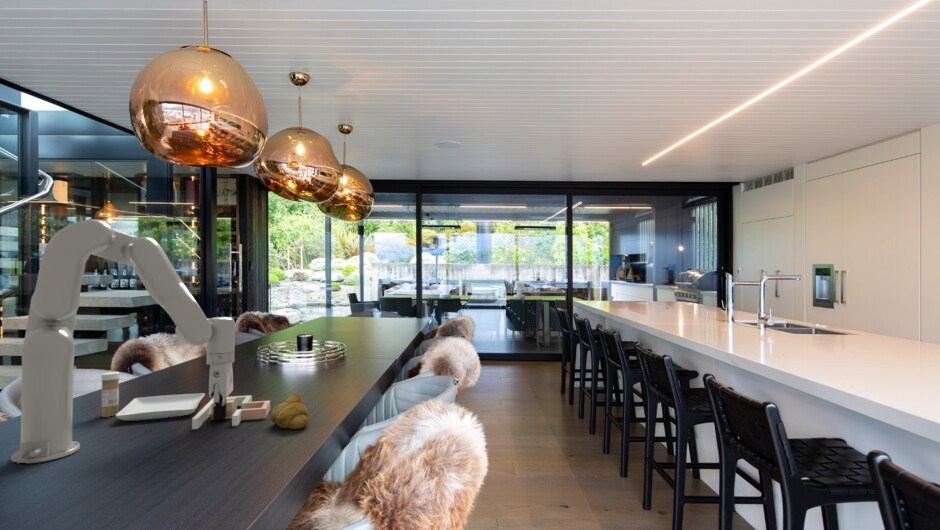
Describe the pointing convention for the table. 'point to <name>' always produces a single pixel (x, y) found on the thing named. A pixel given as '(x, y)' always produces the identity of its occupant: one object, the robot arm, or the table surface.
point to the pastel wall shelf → (237, 411)
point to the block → (227, 408)
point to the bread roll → (290, 413)
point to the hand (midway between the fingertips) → (219, 418)
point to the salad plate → (160, 407)
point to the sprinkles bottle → (110, 393)
